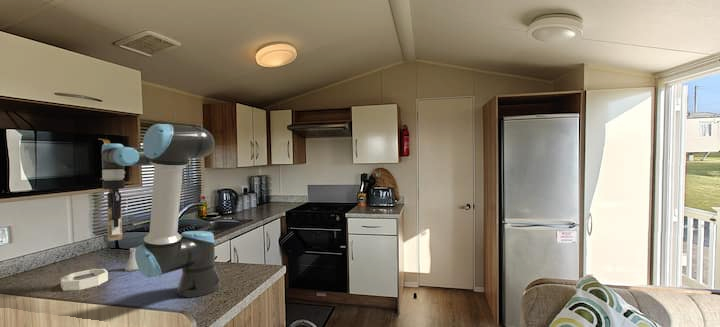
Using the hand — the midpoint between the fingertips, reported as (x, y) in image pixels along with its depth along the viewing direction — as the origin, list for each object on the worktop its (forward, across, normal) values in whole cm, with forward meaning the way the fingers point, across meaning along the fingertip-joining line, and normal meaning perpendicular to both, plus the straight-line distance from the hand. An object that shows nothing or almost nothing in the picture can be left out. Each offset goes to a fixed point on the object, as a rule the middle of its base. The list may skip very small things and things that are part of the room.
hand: (114, 233), depth 138 cm
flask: (+21, +15, -10) cm, 28 cm away
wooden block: (+3, 0, 0) cm, 3 cm away
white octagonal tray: (+21, +8, +9) cm, 24 cm away
